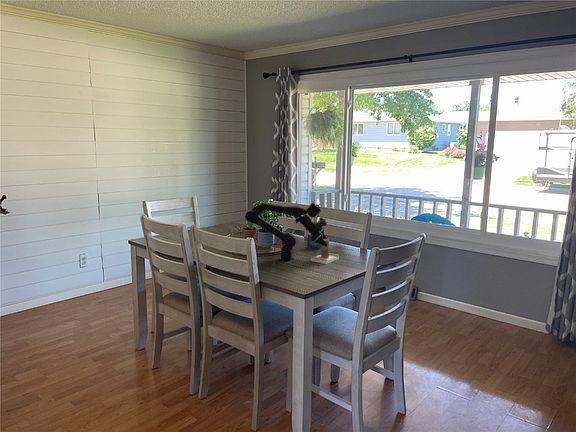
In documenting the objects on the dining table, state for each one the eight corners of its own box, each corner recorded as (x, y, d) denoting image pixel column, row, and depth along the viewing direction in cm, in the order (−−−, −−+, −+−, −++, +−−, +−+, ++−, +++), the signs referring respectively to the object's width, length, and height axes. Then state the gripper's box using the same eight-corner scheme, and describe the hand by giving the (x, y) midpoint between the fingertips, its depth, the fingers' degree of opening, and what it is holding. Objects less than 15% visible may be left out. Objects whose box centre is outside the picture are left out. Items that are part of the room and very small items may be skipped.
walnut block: (328, 258, 238) (328, 240, 236) (321, 258, 238) (321, 240, 237) (328, 256, 242) (329, 239, 240) (321, 256, 242) (321, 238, 240)
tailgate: (325, 264, 232) (325, 259, 232) (309, 260, 239) (309, 256, 238) (338, 258, 242) (338, 254, 242) (322, 255, 249) (322, 251, 248)
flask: (322, 247, 266) (322, 230, 264) (322, 249, 263) (322, 232, 261) (307, 247, 267) (307, 230, 265) (307, 248, 264) (307, 231, 262)
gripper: (317, 217, 227) (337, 238, 227) (320, 211, 245) (339, 230, 246) (302, 231, 230) (322, 252, 230) (306, 224, 248) (324, 243, 248)
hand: (327, 244), depth 238 cm, fingers open, 9 cm apart
